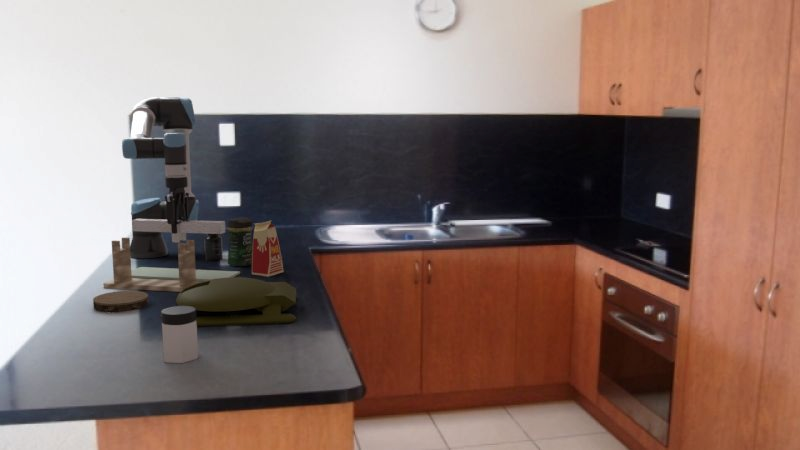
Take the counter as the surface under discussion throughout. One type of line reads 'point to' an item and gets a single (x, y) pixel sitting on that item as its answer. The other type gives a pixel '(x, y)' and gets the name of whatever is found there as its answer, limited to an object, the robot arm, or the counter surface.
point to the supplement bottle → (213, 247)
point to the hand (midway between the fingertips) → (179, 241)
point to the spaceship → (240, 300)
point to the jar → (179, 334)
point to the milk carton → (266, 250)
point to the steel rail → (184, 226)
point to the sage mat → (174, 273)
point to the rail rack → (127, 282)
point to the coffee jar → (240, 241)
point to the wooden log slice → (120, 301)
